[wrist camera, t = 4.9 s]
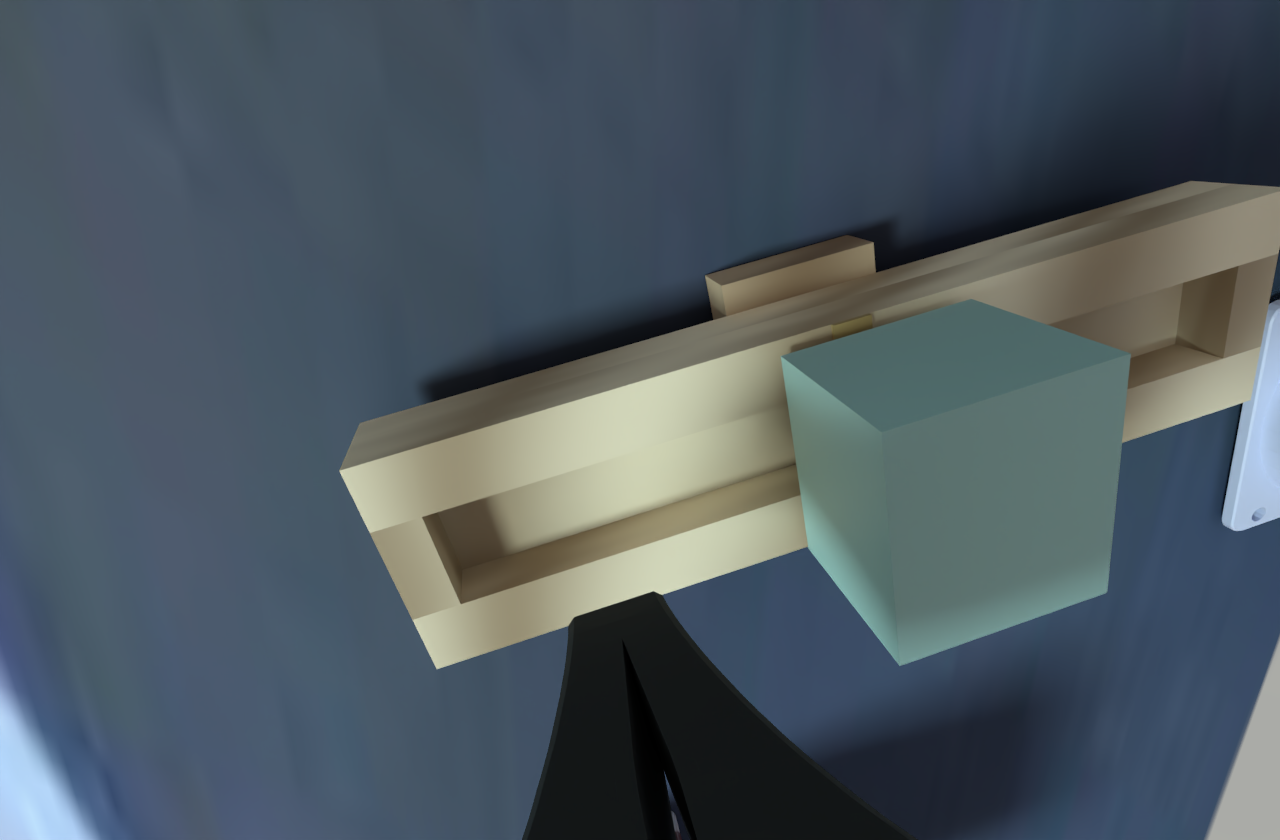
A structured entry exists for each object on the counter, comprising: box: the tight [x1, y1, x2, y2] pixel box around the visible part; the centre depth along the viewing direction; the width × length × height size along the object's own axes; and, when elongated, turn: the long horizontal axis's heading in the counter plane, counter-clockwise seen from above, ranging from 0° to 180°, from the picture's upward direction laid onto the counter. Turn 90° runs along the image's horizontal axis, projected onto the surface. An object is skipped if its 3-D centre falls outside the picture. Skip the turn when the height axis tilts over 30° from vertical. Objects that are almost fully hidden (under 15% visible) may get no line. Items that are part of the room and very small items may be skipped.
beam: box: [339, 181, 1280, 669], centre depth 16 cm, size 20×6×4 cm, turn 103°
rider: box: [781, 299, 1131, 666], centre depth 13 cm, size 4×5×5 cm
